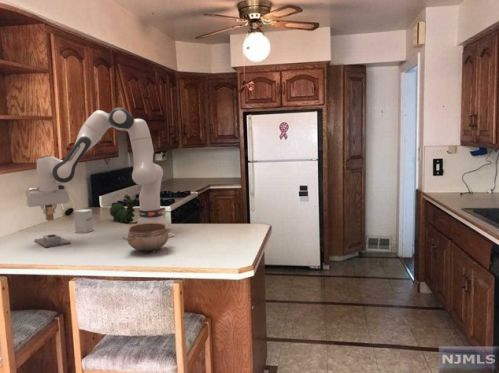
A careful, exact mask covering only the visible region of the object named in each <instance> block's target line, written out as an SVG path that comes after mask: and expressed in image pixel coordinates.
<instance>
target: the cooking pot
mask: <svg viewBox="0 0 499 373" xmlns="http://www.w3.org/2000/svg"><path fill="white" fill-rule="evenodd" d="M165 226H166V224H165V223H162V222H144V223H138V222H137V223H134V224H130V225H128V233H127V237H124V236H123V237H122V240H125V241H127V243H128V245H129V246H130V247H131V248H133V249H135V250H136V251H139V252H141V253H143V254H148V253H155V252H156V251H158V250H159V249H160V248H162V247H163V246H165V245H166V243H167V242H168V239H169V238H168V233H169V232H171V230H172V229H171V228H167V229H166V227H165ZM167 230H168V231H167ZM154 251H155V252H154Z"/></svg>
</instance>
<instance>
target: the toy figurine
mask: <svg viewBox="0 0 499 373" xmlns="http://www.w3.org/2000/svg"><path fill="white" fill-rule="evenodd" d="M123 198H124V199H125V200H127V202H126V207H125V206H124V205H123V204H122V203H118V202H117V203H114V204H113V205H111V207H110V209H109V215H110V216H111V217H112V218H113V220H114V221H116V222H120V223H121V224H123V223H127V222H128V223H129V222H133V221H134V217H135V216H136V215H135V214H134V212H135V211H136V209H134V207H135V204H134V203H135V201H134V200H133V199H132V198H131V196H130V195H128V194H125V195H124V197H123Z"/></svg>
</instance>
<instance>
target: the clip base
mask: <svg viewBox="0 0 499 373" xmlns="http://www.w3.org/2000/svg"><path fill="white" fill-rule="evenodd" d="M34 242H35V243H36V244H38V245H40V247H41V246H42V247H43V248H44V249H49V248H55V247H61V246H65V245H66V246H67V245H70V244H71V241H69V240H67V239H65V238H63V237H61V235H59V234H57V233H53V234H46V235H42V238H36V239H34Z"/></svg>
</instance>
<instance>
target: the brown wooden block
mask: <svg viewBox="0 0 499 373" xmlns="http://www.w3.org/2000/svg"><path fill="white" fill-rule="evenodd" d="M53 208H54V206H53V205H44V209H45V210H47V214H44V215H45V220H46V221H48V222H51V221H52V222H53V221H54V217H55V216H54V213H53Z"/></svg>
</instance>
